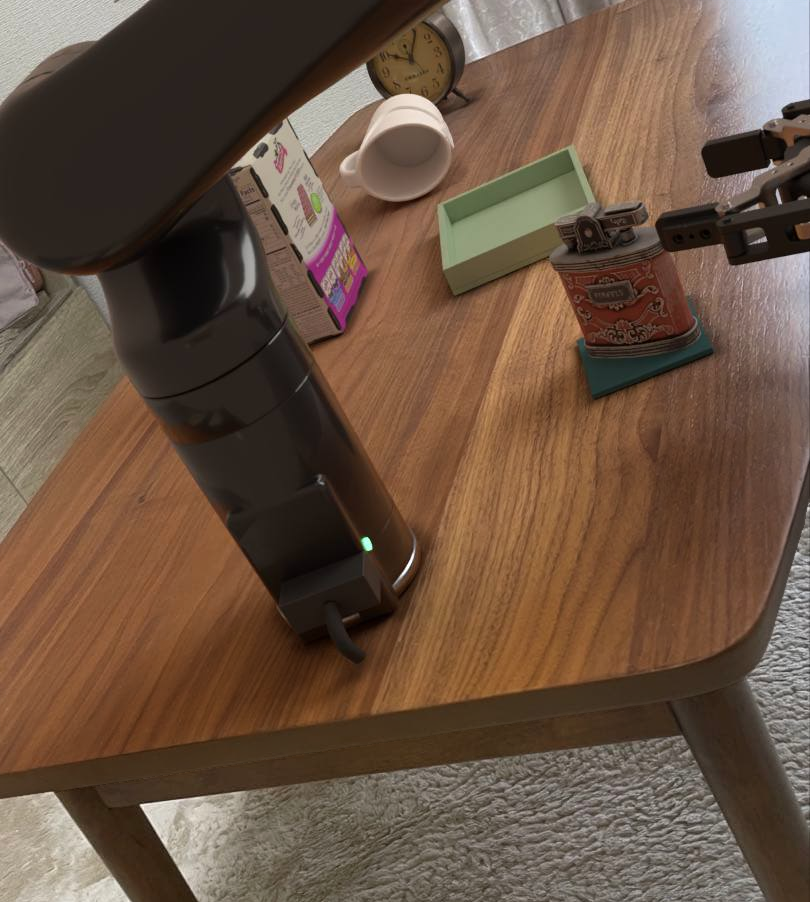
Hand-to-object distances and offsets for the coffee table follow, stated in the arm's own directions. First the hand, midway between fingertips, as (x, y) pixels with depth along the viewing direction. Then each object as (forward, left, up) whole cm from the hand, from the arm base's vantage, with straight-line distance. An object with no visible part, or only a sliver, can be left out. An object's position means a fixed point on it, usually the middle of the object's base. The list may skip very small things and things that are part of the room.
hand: (683, 196), depth 73 cm
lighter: (+3, +5, -10) cm, 11 cm away
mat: (+3, +5, -10) cm, 12 cm away
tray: (+31, +11, -10) cm, 34 cm away
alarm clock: (+76, +17, -10) cm, 79 cm away
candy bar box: (+31, +29, -10) cm, 44 cm away
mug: (+54, +21, -10) cm, 59 cm away
